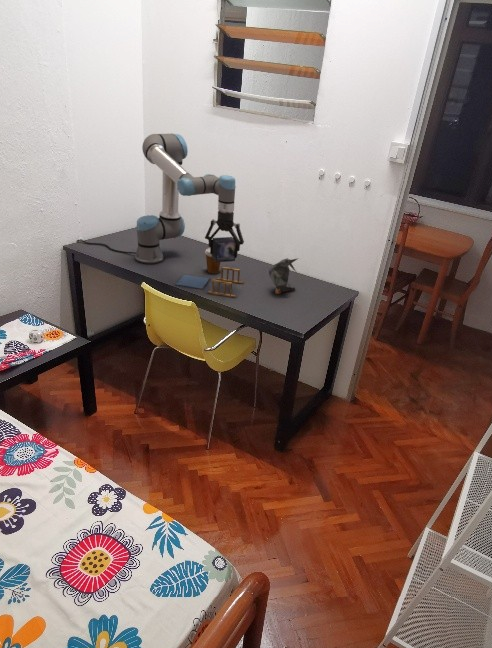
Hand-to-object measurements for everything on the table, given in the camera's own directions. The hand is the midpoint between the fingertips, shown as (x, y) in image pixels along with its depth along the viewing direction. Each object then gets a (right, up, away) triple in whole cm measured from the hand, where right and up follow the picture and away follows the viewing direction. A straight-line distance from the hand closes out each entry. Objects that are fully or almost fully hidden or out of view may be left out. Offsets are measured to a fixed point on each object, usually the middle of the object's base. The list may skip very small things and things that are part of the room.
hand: (223, 255), depth 227 cm
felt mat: (-17, -11, +11) cm, 24 cm away
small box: (0, -2, +1) cm, 3 cm away
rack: (0, -15, +9) cm, 17 cm away
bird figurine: (+29, -16, +13) cm, 35 cm away
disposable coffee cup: (-9, -3, +26) cm, 27 cm away
